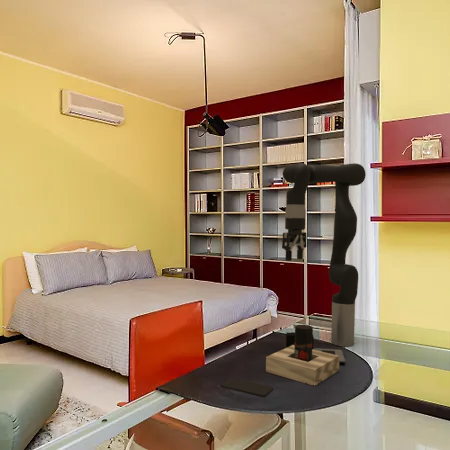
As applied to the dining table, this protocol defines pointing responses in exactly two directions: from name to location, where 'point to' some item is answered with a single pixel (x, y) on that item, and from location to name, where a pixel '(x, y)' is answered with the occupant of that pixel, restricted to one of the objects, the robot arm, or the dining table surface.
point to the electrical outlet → (332, 351)
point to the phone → (247, 387)
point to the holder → (302, 366)
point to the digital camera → (292, 339)
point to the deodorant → (303, 342)
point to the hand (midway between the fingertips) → (294, 260)
